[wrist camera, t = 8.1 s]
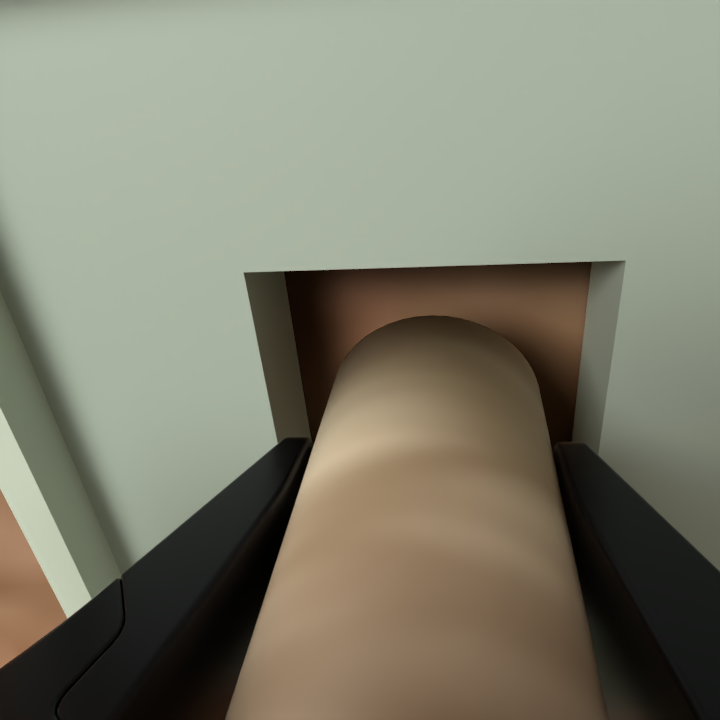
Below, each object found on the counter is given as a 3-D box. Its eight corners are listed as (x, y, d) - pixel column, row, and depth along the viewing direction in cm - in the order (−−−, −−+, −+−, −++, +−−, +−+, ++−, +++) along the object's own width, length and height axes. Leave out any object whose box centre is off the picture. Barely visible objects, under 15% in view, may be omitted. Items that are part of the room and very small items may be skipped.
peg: (548, 313, 9) (681, 775, 4) (534, 488, 11) (610, 972, 6) (321, 317, 10) (147, 721, 4) (343, 482, 12) (240, 915, 6)
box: (1133, -258, 7) (1566, -424, 4) (768, 636, 14) (836, 773, 12) (-96, -79, 9) (-310, -109, 7) (164, 598, 17) (112, 703, 14)
